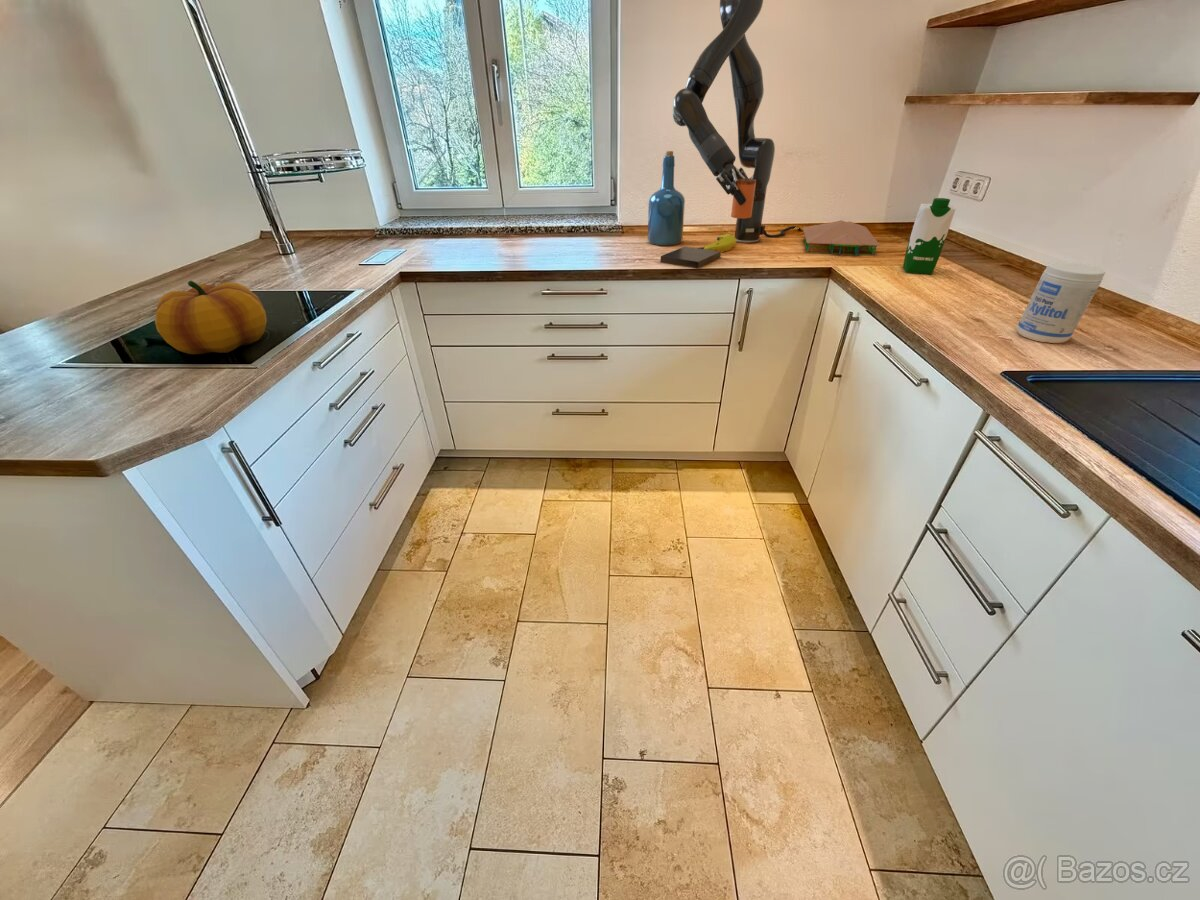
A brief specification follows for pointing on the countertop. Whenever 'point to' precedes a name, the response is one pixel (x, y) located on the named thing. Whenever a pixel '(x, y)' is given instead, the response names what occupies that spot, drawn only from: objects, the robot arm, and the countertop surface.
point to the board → (690, 257)
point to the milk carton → (928, 236)
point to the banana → (722, 243)
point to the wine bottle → (666, 208)
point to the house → (840, 236)
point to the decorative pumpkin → (210, 318)
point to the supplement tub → (1059, 301)
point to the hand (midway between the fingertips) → (748, 201)
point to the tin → (748, 191)
